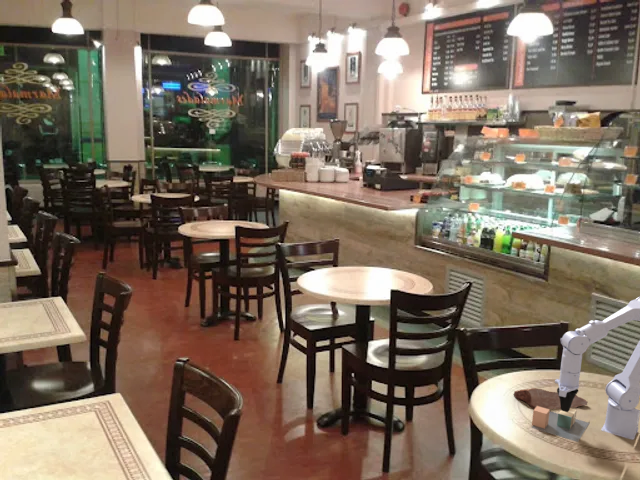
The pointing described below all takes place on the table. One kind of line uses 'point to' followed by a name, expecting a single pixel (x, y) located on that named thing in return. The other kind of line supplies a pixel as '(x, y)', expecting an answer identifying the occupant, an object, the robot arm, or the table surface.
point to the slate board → (570, 434)
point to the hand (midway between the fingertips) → (565, 410)
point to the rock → (545, 398)
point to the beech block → (566, 418)
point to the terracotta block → (540, 417)
